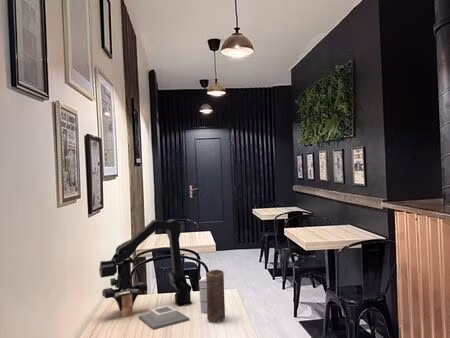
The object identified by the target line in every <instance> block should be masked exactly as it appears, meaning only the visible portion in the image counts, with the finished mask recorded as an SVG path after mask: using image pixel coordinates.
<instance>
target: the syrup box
mask: <svg viewBox="0 0 450 338" xmlns="http://www.w3.org/2000/svg"><path fill="white" fill-rule="evenodd" d="M198 285H199V299H200V300H199V301H200V313H202V314H207V277H206V276H202V277H201V278H200V279H199V280H198Z"/></svg>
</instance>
